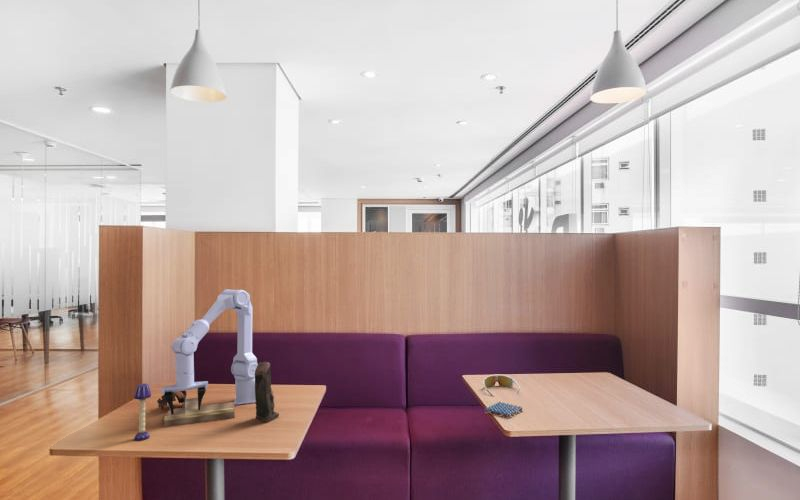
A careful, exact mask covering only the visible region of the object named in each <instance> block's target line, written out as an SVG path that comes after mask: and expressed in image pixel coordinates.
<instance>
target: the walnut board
mask: <svg viewBox="0 0 800 500" xmlns="http://www.w3.org/2000/svg"><path fill="white" fill-rule="evenodd" d="M235 406H236V405H235V401H229V402H222V403H212V404H205V405H200V410H198V412H196V413H188V414H185V408H183V407H179V408H173V410H174V414H171V410H170V409H168V410H167V411H168V412H167V415H164V427H172V426H179V425H188V424H196V423H203V422H204V423H206V422H210V421H218V420H226V419H235V415H236V414H235Z"/></svg>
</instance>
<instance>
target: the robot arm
mask: <svg viewBox="0 0 800 500" xmlns="http://www.w3.org/2000/svg"><path fill="white" fill-rule="evenodd" d="M253 308H254V307H253V304H252V303H251V294H250V293H248V292H247V291H246V290H244V289H229V288H225V289H224V290H222V291H221V293H220V294H219V295H218V296H217V299H216V300H215V302H214V303H212V306H211V307H210V308H209V309H208V311H207V312H206V313H205V314H204V316H203V317H202V318H201V319H196V320H194V321H192V322H191V325H190V327H189V328H187V329H186V331H185V332H183V333H182V335H181V336H179V337H177V338H175V339H174V341H173V343H172V345H171V346H170V347H171V351H172V352H173V353H174V357H175V359H174V360H175V361H174V362H175V364H174V365H175V384H172V385H167V386H161V395H164V397H165V399H166V400H167V405H168V406H169V408H170V410H171V414H174V410H173V409H174V401H173V392H177V391H185V390H186V391H190V390H197V398H198V410H200V406H202V405H201V404H202V400H203V398H204V396H205V394H206V392H207V389H208V388H209V381H208V380H206V381H205V380H204V381H195V366H194V365H195V361H194V359H195V357H194V355H195V354H194V352H196V351H197V348H198V345H199V342H200V341H201V340H202V339H203V338H204V337H205V336H206V334H208V332H210V331H209V330H210V325H211V324H212V323H213V322H215V320H216V319H217V318H218V317H219V316H220V315H221V314H222V313H223V312H224V311H225V310H228V309H232V310H234V311H235V312H236V313H237V338H236V339H237V346H236V347H237V348H236V349H237V351H236V354H235V355H234V356H233V359H232V360H233V361H232V364H231V367H230V371H231V374H232V375H233V376H234V377H233V378H234V379H235V383H234V384H235V386H234V387H235V388H234V389H235V397H234V402H235V406H237V405H246V404H252V403H256V399H255V370H256V368H257V365H258V364H259V363H258V358H257V357H256V355H255V354H254V353H253V315H254V314H253V312H254V311H253V310H254V309H253Z"/></svg>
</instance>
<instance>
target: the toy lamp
mask: <svg viewBox="0 0 800 500" xmlns="http://www.w3.org/2000/svg"><path fill="white" fill-rule="evenodd" d="M135 389H136V390H135V393H134V399H135V400H138V401H139V403H138V407H139V408H138V409H139V410H138V412H139V413H138V417H139V419H138V427H139V428H138V432H137V433H136V434H135V435H134V437H133V440H134V441H144V440H147V439H149V438H150V437H151V436H150V433H149V432H148V431H146V411H147V409H146V401H147V400H146V399H149V398H151V397H152V393H151V390H150V386H149V384H148V383H140V384H138V385H137V386H136V388H135Z"/></svg>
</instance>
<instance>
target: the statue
mask: <svg viewBox="0 0 800 500" xmlns="http://www.w3.org/2000/svg"><path fill="white" fill-rule="evenodd" d="M257 364H258V365H257V368H256V370H255V399H256V402H255V411H256V412H255V421H262V422H264V423H269V422H271V421H273V420H275V419H277V418H279V417H280V413H279V412H277V411H275V407H276V406H275V400H274V399H275V395H274V391H273V390H272V381H271V380H272V375H271V363H270V362H268V361H263V362H259V363H257Z"/></svg>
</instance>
